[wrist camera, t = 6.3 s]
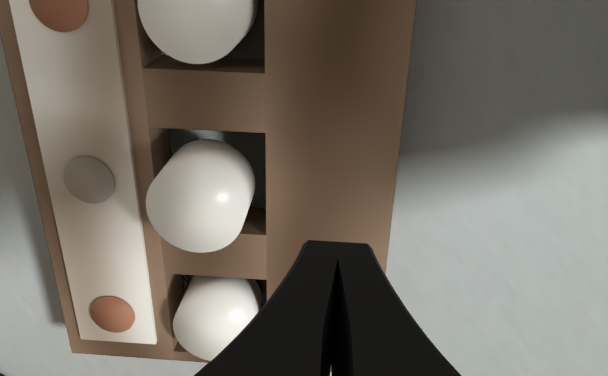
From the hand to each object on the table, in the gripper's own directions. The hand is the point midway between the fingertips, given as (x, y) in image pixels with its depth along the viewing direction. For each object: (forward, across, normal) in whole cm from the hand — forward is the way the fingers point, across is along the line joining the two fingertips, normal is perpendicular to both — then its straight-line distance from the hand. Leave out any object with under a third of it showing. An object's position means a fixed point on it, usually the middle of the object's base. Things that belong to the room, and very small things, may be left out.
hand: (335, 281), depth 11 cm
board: (+9, +4, +2) cm, 11 cm away
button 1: (+9, +4, -4) cm, 11 cm away
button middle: (+8, +4, +1) cm, 9 cm away
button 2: (+9, +5, +7) cm, 12 cm away
